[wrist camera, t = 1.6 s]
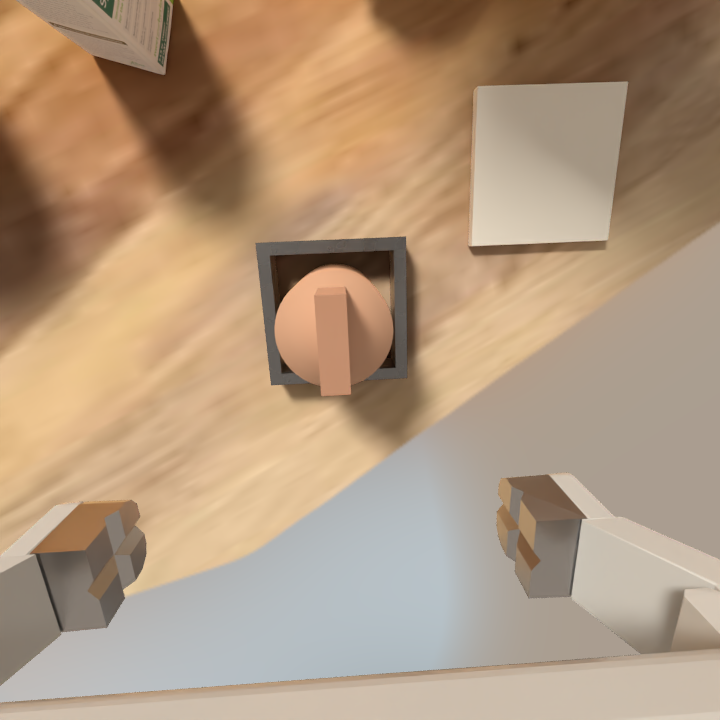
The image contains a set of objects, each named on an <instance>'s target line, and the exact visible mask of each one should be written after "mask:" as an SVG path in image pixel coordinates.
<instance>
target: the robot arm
mask: <svg viewBox="0 0 720 720" xmlns="http://www.w3.org/2000/svg"><path fill="white" fill-rule="evenodd" d="M498 495H499V497H500V499H501V500H502V502H503V505H502V506H501V507H500V508H499V510H498V511H497V531H498V537H499V540H500V543H501V546H502V548H503V550H504V552H505V554H506V556H508V557H509V558H511V559H512V560H513V561H515V573H516V575H517V577H518V579H519V581H520V583H521V585H522V586H523V588H524V590H525V592H526V594H527V596H528V598H547V597H571V599H572V600H573V601H574V602H576V603H577V604H578V605H580V606H581V607H582V608H583V609H585V610H586V611H587V612H588V613H590V614H591V615H592V616H593V617H595V618H596V619H597V620H599V621H600V622H601V623H602V624H604V625H605V626H606V627H608V628H609V629H610V630H611V631H612V632H614V633H615V634H616V635H618V636H619V637H620V638H621V639H623V640H624V641H625V642H626V643H628V644H629V645H630V646H631V647H633V648H634V649H635V650H636V651H638V652H639V653H640V655H628V656H627V655H626V656H613V657H601V658H588V659H575V660H562V661H550V662H538V663H525V664H510V665H497V666H483V667H469V668H455V669H442V670H427V671H414V672H400V673H386V674H372V675H359V676H347V677H333V678H319V679H306V680H293V681H280V682H267V683H255V684H241V685H228V686H215V687H202V688H188V689H175V690H162V691H149V692H137V693H136V692H135V693H122V694H109V695H95V696H82V697H69V698H55V699H42V700H30V701H15V702H2V703H0V720H720V559H718V558H715V557H713V556H711V555H708V554H706V553H704V552H702V551H699V550H697V549H695V548H692V547H690V546H688V545H686V544H683V543H681V542H679V541H676V540H674V539H672V538H670V537H667V536H665V535H663V534H660V533H658V532H656V531H654V530H651V529H649V528H647V527H644V526H642V525H640V524H638V523H635V522H633V521H631V520H628V519H626V518H624V517H614V516H613V515H612V514H611V513H610V512H609V511H608V510H607V509H606V508H605V507H604V506H603V505H602V504H601V503H600V502H599V501H598V500H597V499H596V498H595V497H594V496H593V495H592V494H591V493H590V492H589V491H588V490H587V489H586V488H585V487H584V486H583V485H582V484H581V483H580V482H579V481H578V480H577V479H576V478H575V477H574V476H573V475H572V474H569V473H567V472H566V473H556V474H546V475H537V476H525V477H512V478H501V480H500V483H499V489H498ZM139 518H140V513H139V510H138V506H137V503H135V502H134V501H132V500H116V501H90V502H71V503H62V504H58V505H55V506H54V507H53V508H52V509H51V510H50V511H49V512H48V513H46V514H45V515H44V516H43V517H42V518H41V519H40V520H39V521H38V522H37V523H35V524H34V525H33V526H32V527H31V528H30V529H29V530H28V531H27V532H26V533H24V534H23V535H22V536H21V537H20V538H19V539H18V540H17V541H16V542H15V543H13V544H12V545H11V546H10V547H9V548H8V549H7V550H6V551H5V552H4V553H2V554H1V555H0V686H1V685H2V684H3V683H4V682H5V681H7V680H8V679H9V678H10V677H11V676H12V675H14V674H15V673H16V672H17V671H18V670H20V669H21V668H22V667H23V666H24V665H26V664H27V663H28V662H29V661H30V660H32V659H33V658H34V657H35V656H36V655H38V654H39V653H40V652H41V651H42V650H43V649H45V648H46V647H47V646H48V645H50V644H51V643H52V642H53V641H54V640H55V639H57V638H58V637H59V636H60V635H61V632H68V631H78V630H88V629H98V628H107V627H108V625H109V623H110V622H111V620H112V618H113V617H114V615H115V614H116V612H117V610H118V609H119V607H120V605H121V604H122V602H123V601H124V599H125V597H124V593H123V589H124V588H126V587H127V586H129V585H130V584H131V583H133V582H134V581H135V580H136V579H137V577H138V576H139V574H140V572H141V570H142V569H143V565H144V561H145V557H146V539H145V535H144V533H143V532H142V531H141V530H140V529H139V528H138V527H136V526H135V525H136V523H137V521H138V520H139Z"/></svg>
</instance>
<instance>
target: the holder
mask: <svg viewBox="0 0 720 720" xmlns="http://www.w3.org/2000/svg"><path fill="white" fill-rule="evenodd" d="M386 250H390V300H391V316H392V321H393V339H392V344H391V353H392V358H389V359H385V360H384V362H383V363H382V365H381V366H380V367H379V368H378V369H377V370H376V371H375V372H374V373H373V374H372V375H371V376H369V377H368V378H366V379H365V380H379V379H398V378H407V299H406V237H388V238H364V239H340V240H316V241H293V242H269V243H256V251H257V260H258V269H259V278H260V288H261V297H262V306H263V315H264V324H265V333H266V342H267V351H268V361H269V370H270V379H271V385H285V384H304V383H310V382H308V381H306V380H304V379H302V378H301V377H299V376H298V375H296V374H295V373H294V372H293V371H292V370H291V369H290V368H289V367H288V365H287V364H286V363H285V361H284V360H283V358H282V357H281V355H280V352H279V350H278V347H277V344H276V339H275V319H276V315H277V311H278V309H279V306H280V296H279V286H278V276H277V265H276V255H293V254H316V253H340V252H363V251H386Z"/></svg>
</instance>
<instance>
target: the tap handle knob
mask: <svg viewBox="0 0 720 720" xmlns="http://www.w3.org/2000/svg"><path fill="white" fill-rule="evenodd" d="M275 339H276V344H277V347H278V350H279V352H280V355H281V357H282V358H283V360H284V361H285V363H286V364H287V365H288V367H289V368H290V369H291V370H292V371H293V372H294V373H295V374H296V375H298V376H299V377H301V378H302V379H304V380H306V381H308V382H310V383H312V384H315V385H318V386H321V396H332V395H350V394H351V385H354V384H357V383H359V382H361V381H363V380H365V379H366V378H368V377H369V376H371V375H372V374H373V373H374V372H375V371H376V370H377V369H378V368H379V367H380V366H381V365H382V363H383V362H384V360H385V359H386V357H387V355H388V353H389V350H390V347H391V344H392V339H393V321H392V316H391V313H390V310H389V307H388V305H387V303H386V302H385V300H384V298H383V297H382V296H381V294H380V293H379V291H378V290H377V289H376V287H375V286H374V285H373V283H372V282H371V281H370V280H369V278H368V277H367V276H366V275H364V274H363V273H362V272H361V271H359V270H357V269H356V268H354V267H351V266H348V265H344V264H326V265H322V266H320V267H317V268H315V269H313V270H312V271H310V272H309V273H308V274H306V275H305V276H304V277H303V278H302V279H301V280H300V281H299V282H298V283H297V284H296V285H295V286H294V287H293V288H292V289H291V290H290V291H289V292H288V293H287V295H286V296H285V297H284V299H283V300H282V302H281V304H280V306H279V309H278V311H277V315H276V319H275Z"/></svg>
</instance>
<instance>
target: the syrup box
mask: <svg viewBox="0 0 720 720" xmlns="http://www.w3.org/2000/svg"><path fill="white" fill-rule="evenodd" d="M16 1H18V2H19V3H21V4H22V5H23V6H24V7H26V8H27V9H29V10H30V11H31V12H33V13H34V14H36V15H37V16H38V17H40V18H41V19H43V20H44V21H45V22H47V23H48V24H49V25H51V26H52V27H53V28H55V29H56V30H58V31H59V32H60V33H62V34H63V35H65V36H66V37H67V38H69V39H70V40H72V41H73V42H74V43H76V44H77V45H78V46H80V47H81V48H83V49H84V50H85V51H87V52H88V53H89V54H91V55H94V56H97V57H101V58H104V59H108V60H112V61H115V62H119V63H122V64H126V65H129V66H133V67H137V68H140V69H143V70H147V71H150V72H154V73H157V74H161V75H165V74H166V62H167V53H168V48H169V39H170V30H171V20H172V10H173V0H16Z"/></svg>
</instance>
